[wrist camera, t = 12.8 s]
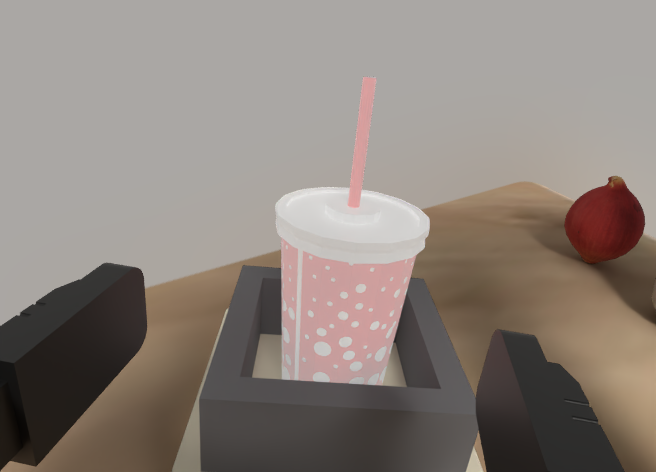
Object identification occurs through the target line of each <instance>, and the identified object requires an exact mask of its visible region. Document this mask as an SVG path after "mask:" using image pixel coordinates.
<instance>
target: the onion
mask: <svg viewBox="0 0 656 472" xmlns="http://www.w3.org/2000/svg"><path fill="white" fill-rule="evenodd" d="M608 180H609V182H608V184H607V185H605V186H602V187H598V188H595V189H593V190H591V191H589V192H587V193H585V194H584V195H582V196H581V197H580V198H579V199H577V200H576V201H575V203H574V204H573V205H572V206H571V208H570V210H569V211H568V213H567V215H566V219H565V224H564V226H565V230H566V234H567V236H568V238H569V240H570V242H571V243H572V245H573V246H574V248H575V249H576V250H577V251H578V252H579V254H580V255H581V257H582V259H583V260H584V261H585V262H587V263H591V264H595V263H598V262H603V261H608V260H612V259H615V258H618V257H620V256H622V255H624V254H626V253H627V252H629V251H630V250H631V249H632V248H634V247H635V245H636V244H637V243H638V241H639V239H640V238H641V236H642V234H643V230H644V226H645V216H644V212H643V209H642V207H641V205H640V203H639V201H638V200H637V198H636V197H635V196H634V195H633V194H632V193H631V192H630V191H629V189H628V188H627V186H626V184H625V182H624V181H623V179H622V178H621V177H618V176H612V177H610V178H608Z"/></svg>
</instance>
